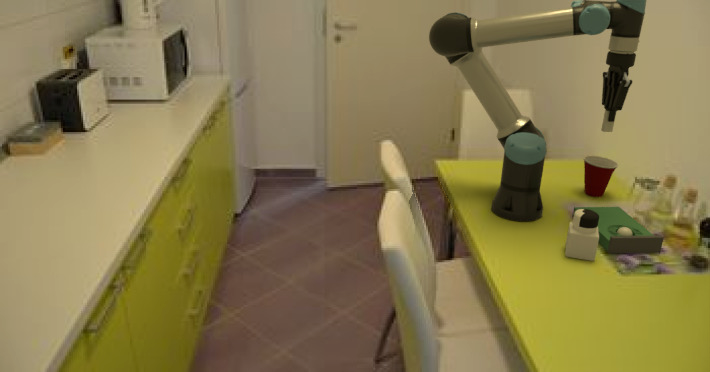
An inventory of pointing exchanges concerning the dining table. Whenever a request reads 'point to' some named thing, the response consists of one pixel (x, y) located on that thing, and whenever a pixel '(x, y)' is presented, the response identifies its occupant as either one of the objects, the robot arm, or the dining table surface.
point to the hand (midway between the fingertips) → (606, 131)
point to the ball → (625, 231)
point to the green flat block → (617, 243)
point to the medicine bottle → (583, 235)
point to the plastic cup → (597, 174)
